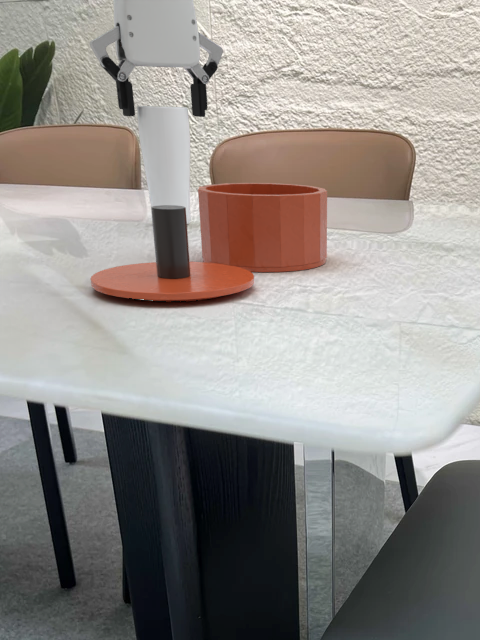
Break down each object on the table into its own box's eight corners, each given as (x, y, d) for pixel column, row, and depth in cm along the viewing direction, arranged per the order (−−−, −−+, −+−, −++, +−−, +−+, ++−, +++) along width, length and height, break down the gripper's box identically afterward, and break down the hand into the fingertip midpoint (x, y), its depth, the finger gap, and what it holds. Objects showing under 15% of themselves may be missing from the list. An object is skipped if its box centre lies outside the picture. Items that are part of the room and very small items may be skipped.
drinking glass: (172, 229, 105) (162, 106, 98) (137, 224, 108) (125, 105, 102) (206, 224, 110) (198, 107, 104) (171, 219, 113) (162, 106, 107)
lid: (118, 314, 62) (107, 221, 59) (74, 280, 74) (63, 201, 70) (281, 297, 70) (279, 213, 66) (219, 269, 81) (215, 196, 77)
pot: (232, 276, 77) (228, 197, 74) (185, 254, 88) (180, 184, 84) (348, 266, 84) (349, 193, 81) (291, 247, 94) (290, 181, 91)
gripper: (206, -27, 103) (214, 116, 110) (72, -40, 94) (92, 115, 102) (228, -33, 97) (235, 117, 105) (88, -48, 89) (107, 116, 97)
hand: (164, 116), depth 103 cm, fingers open, 9 cm apart
